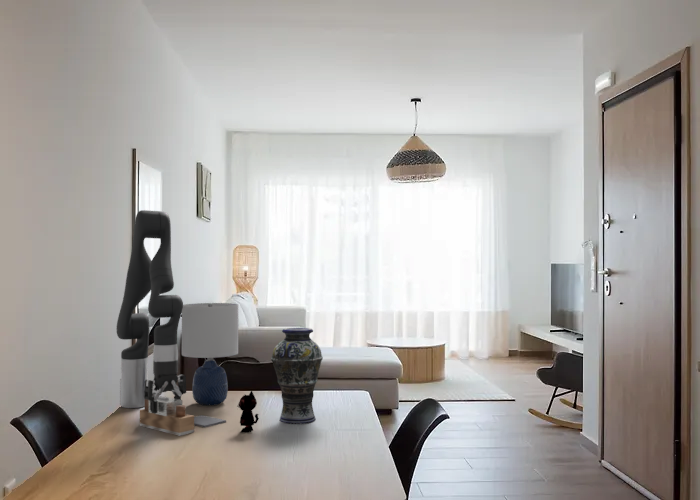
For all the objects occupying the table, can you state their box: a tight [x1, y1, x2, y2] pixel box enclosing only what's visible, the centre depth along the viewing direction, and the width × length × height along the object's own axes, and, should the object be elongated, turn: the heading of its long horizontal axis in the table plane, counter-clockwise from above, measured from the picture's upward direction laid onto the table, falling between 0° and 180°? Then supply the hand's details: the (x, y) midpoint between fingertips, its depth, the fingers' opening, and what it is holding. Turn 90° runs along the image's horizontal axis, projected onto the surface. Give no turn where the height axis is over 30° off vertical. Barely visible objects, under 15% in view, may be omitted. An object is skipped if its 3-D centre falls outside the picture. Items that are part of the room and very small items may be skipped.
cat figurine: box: [236, 389, 260, 434], centre depth 215 cm, size 7×7×12 cm
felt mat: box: [194, 415, 227, 428], centre depth 227 cm, size 12×9×1 cm
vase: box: [270, 326, 323, 425], centre depth 230 cm, size 17×17×30 cm
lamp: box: [181, 302, 239, 406], centre depth 255 cm, size 20×20×37 cm
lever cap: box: [149, 395, 183, 416], centre depth 218 cm, size 9×6×5 cm, turn 52°
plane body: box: [139, 399, 195, 437], centre depth 218 cm, size 20×6×11 cm, turn 52°
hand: (165, 410), depth 218 cm, fingers open, 8 cm apart
